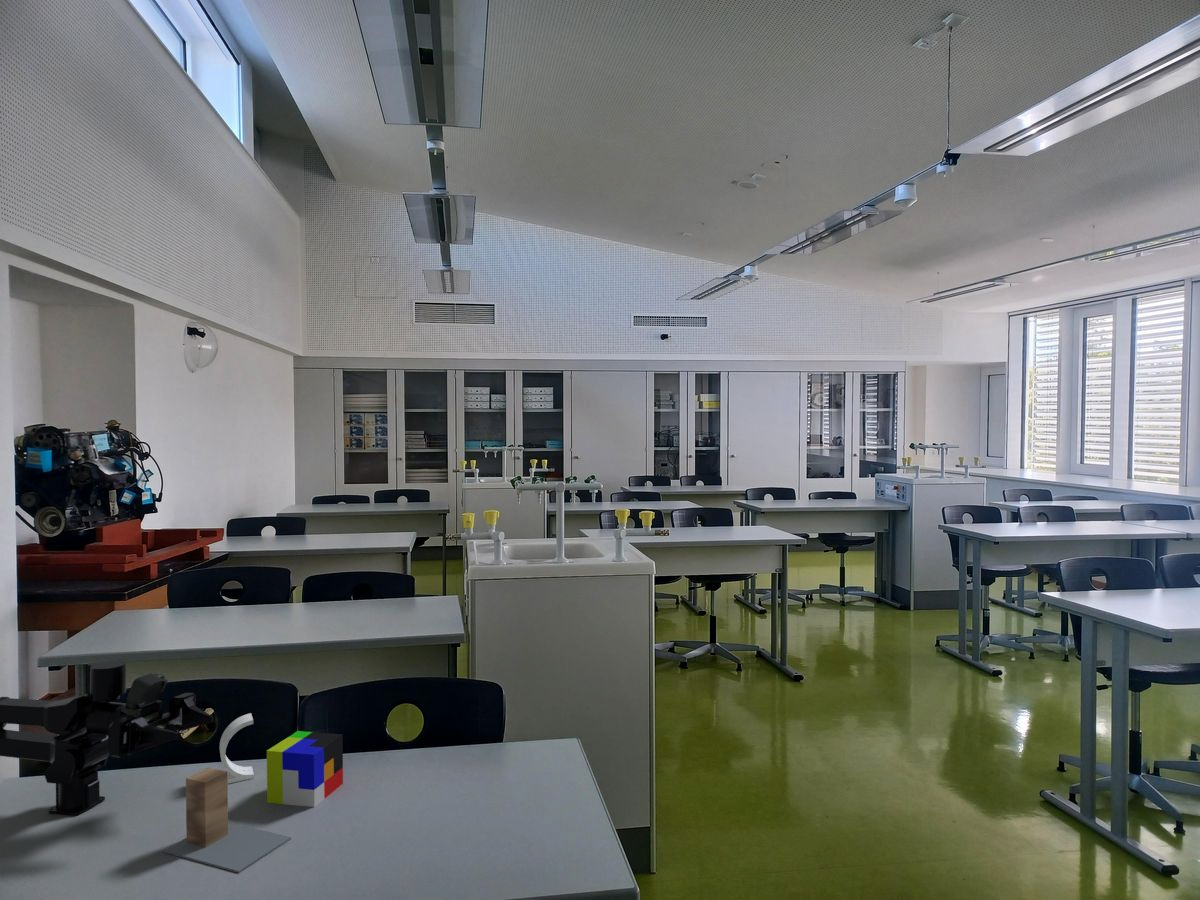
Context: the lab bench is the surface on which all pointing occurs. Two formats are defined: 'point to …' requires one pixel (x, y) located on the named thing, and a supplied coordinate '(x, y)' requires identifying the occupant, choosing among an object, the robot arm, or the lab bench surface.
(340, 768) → the puzzle toy
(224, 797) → the walnut block
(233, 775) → the headphone stand
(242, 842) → the slate mat
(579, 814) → the lab bench surface
